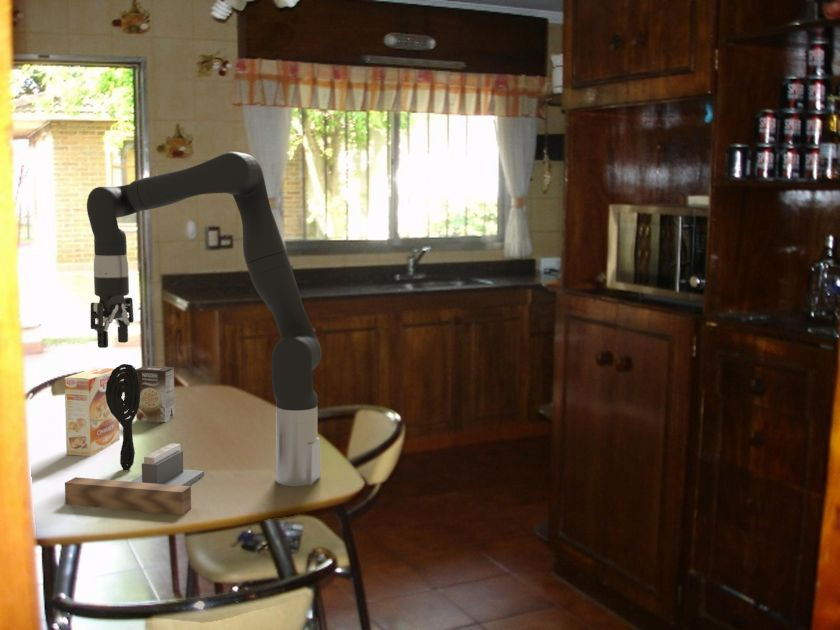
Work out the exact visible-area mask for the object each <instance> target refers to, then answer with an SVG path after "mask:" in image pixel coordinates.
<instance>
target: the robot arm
mask: <svg viewBox="0 0 840 630" xmlns="http://www.w3.org/2000/svg"><path fill="white" fill-rule="evenodd" d="M262 169H263V168H262V166H261V164H260V163H259V161H258V159H256V157H253V156H252V155H251V154H248V153H245V152H240V151H228V152H225V153H222V154H220V155H218V156H215V157H213V158H211V159H208V160H206V161H204V162H201V163H199V164H196V165H194V166H191V167H187V168H185V169H184V168H183V169H181V170H175V171H171V172H166V173H162V174H156V175H152V176H146V177H143V178H140V179H136V180H133V181H132V182H130V183H129V184H125V185H124V184H123V185H120V186H119V185H118V186H97V187H95V188H93V189H92V190H91V191H90V192H89V194H88V196H87V199H86V200H87V201H86V211H87V212H86V213H87V217H88V220H89V225H90V229H91V231H92V234H93V241H94V242H93V245H94V246H93V248H94V258H93V260H94V261H93V281H94V282H93V285H94V288H93V289H94V290H93V291H94V295H95V296H96V297H99V300H98V302H91V303H90V329H91V330H94V331H96V333H97V334H96V337H97V347H98V349H99V348H100V349H106V348H108V347H109V332H108V330H109V327H110V324H112V323H113V321H114V320H115V321H116V324H117V342H118V343H124V344H125V343H128V342H129V328H128V327H129V326H130V324H131V323H134V321H135V320H134V305H133V303H134V302H133V297H128V295H129V293H130V286H129V281H130V279H129V261H128V255H127V253H128V252H127V249H128V248H127V236H126V232H125V230H122V229H120V227H119V223H118V219H119V218H124V217H127V216H131V215H134V214H137V213H139V212H141V211H148V210H154V209H157V208H162V207H166V206H170V205H173V204H176V203H179V202H181V201H183V200H184V201H185V200H186V199H189V198H192V197H196V196H197V197H198V196H202V195H207V194H208V195H209V194H228V195H232V197H233V199H234V202H235V203H236V207H237V210H238V211H239V216H240V219H241V224H242V252H243V257H244V261H245V264H246V268H247V270H248V271H247V272H248V274H249V276H250V279H251V282H252V284H253V287H254V288H255V290H256V292H257V293H258V295H259V296H260V298H261V300H262V301H263V302H264V304H265V306H266V307H267V308H268V309H269V311H270V312H271V314H272V316H273V319H274V321H275V323H276V325H277V329H278V333H279V336H280V340H278V341H277V342H276V344H275V345H274V348H273V350H272V355H271V381H272V384H271V385H272V393H273V396H274V398H275V481H276V483H277V484H278V485H281V486H284V487H285V486H286V487H302V486H303V487H304V486H313V484H315V483H316V481H318V480H319V479H320V478H321V438H320V437H318V404H319V403H318V394H317V392H315V390H314V387H313V386H314V385H313V383H314V382H313V371H314V370H315V369H316V368H317V367H318V365H319V364H320V362H321V360H322V348H321V345H320V342H319V341H320V340H319V339H318V337H317V335H316V333H315V330H314V329H313V326H312V324H311V322H310V319H309V317H308V315H307V313H306V309H305V307H304V304H303V302H302V297H301V294H300V290H299V288H298V283H297V281H296V278H295V275H294V272H293V268H292V265H291V261H290V259H289V256H288V252H287V250H286V248H285V245H284V242H283V240H282V239H283V238H282V236H281V233H280V230H279V227H278V224H277V222H276V219H275V216H274V214H273V211H272V207H271V204H270V199H269V195H268V190H267V185H266V182H265V177H264V173H263V170H262ZM126 296H127V297H126ZM96 321H97V322H96Z"/></svg>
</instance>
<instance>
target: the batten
mask: <svg viewBox="0 0 840 630" xmlns="http://www.w3.org/2000/svg"><path fill="white" fill-rule="evenodd" d="M191 488H192V487H191V485H190V486H179V485H167V484H154V483H141V482H130V480H129V481H128V480H126V481H125V480H115V479H114V480H113V479H101V478H90V477H89V478H88V477H78V476H76V477H73V478H72V479H69V480H67V481H65V482H64V495H65V496H64V498H65V501H64V502H65V503H64V504H65V506H75V507H86V508H96V509H98V508H99V509H109V510H110V509H111V510H121V511H134V512H145V513H146V512H148V513H156V514H157V513H158V514H169V515H180V516H181V515H182V516H183V515H184V514H186V513H187V512H188V511H190V510H191V509H192V491H191Z"/></svg>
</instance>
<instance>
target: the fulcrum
mask: <svg viewBox="0 0 840 630" xmlns="http://www.w3.org/2000/svg"><path fill="white" fill-rule="evenodd" d="M202 476H203V477H204V476H205V471H204V470H197V469H196V470H194V469H185V468H184V450H181V443H172V442H171V443H167V445H165V446H162V447H161V448H159V449H157V450H154V451H153V452H151V453H149V454H147V455H145V456H144V457H143V462H142V463H141V475H139V476H138V477H136V478H134V479H132V480H129V482H141V483H154V484H167V485H179V486H191V485H193V484H195V483H196V482H197V481H199V480H200V479H201V478H203V477H202ZM199 478H200V479H199ZM195 481H196V482H195ZM192 483H193V484H192Z"/></svg>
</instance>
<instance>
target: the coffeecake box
mask: <svg viewBox="0 0 840 630" xmlns="http://www.w3.org/2000/svg"><path fill="white" fill-rule="evenodd" d="M114 369H115V368H112V367H111V368H108V367H93V368H90V369H88V370H85V371H82V372H78V373H75V374H72V375H69V376H65V377H64V400H65V401H64V404H65V405H64V407H65V441H66V443H65V444H66V445H65V447H66V449H65V451H66V455H69V456H83V457H93V456H94V455H96V454H98V453H99V452H101V451H103V450H105V449H106V448H108V447H110V446H112V445H114V444H115V443H117V442H119V441H120V438H121V437H120V423H119V421H118V420H117V419H116V418H115V417H114V415H113V414H112V413H111V411H110V409H109V407H108V405H107V401H106V394H105V393H106V385H107V381H108V379H109V377H110V375H111V373H112V371H113V370H114ZM117 377H118V376H117Z"/></svg>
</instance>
